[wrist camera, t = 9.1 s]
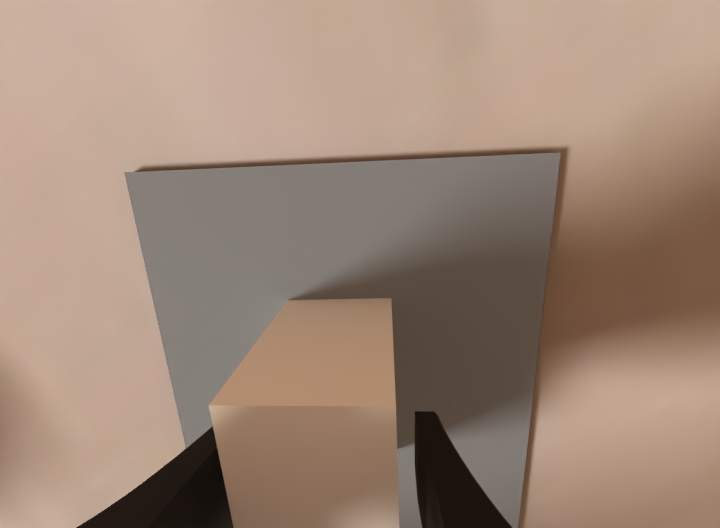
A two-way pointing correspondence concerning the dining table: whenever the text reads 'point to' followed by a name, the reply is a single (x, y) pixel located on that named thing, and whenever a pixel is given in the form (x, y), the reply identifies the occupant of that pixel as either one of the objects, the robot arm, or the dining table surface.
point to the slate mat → (366, 285)
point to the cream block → (313, 420)
